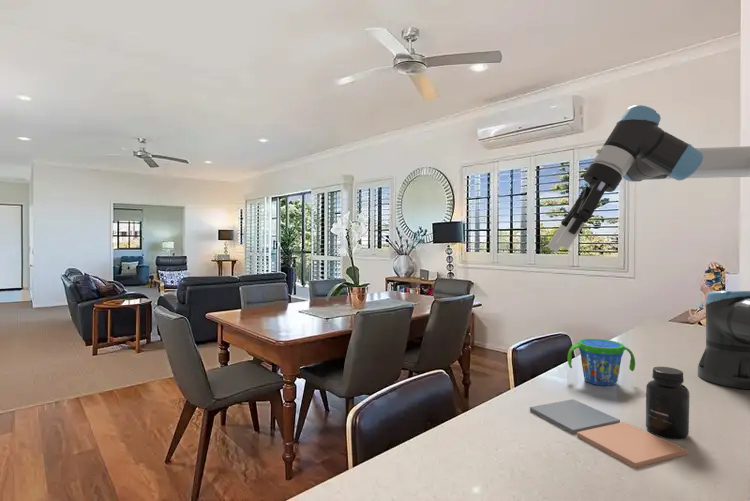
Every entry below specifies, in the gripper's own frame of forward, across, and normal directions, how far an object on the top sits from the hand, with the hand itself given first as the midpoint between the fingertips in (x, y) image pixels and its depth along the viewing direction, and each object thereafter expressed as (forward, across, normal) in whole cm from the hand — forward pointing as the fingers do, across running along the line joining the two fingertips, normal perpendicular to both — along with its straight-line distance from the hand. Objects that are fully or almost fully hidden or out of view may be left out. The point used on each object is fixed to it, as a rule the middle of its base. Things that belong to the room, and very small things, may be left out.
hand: (556, 248), depth 101 cm
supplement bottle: (+22, +14, +34) cm, 42 cm away
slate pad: (+30, +10, +20) cm, 37 cm away
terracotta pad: (+27, +21, +26) cm, 43 cm away
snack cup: (+22, -14, +29) cm, 39 cm away
